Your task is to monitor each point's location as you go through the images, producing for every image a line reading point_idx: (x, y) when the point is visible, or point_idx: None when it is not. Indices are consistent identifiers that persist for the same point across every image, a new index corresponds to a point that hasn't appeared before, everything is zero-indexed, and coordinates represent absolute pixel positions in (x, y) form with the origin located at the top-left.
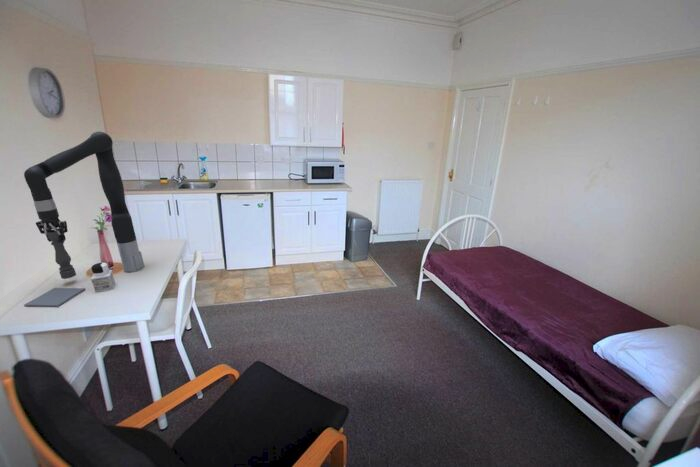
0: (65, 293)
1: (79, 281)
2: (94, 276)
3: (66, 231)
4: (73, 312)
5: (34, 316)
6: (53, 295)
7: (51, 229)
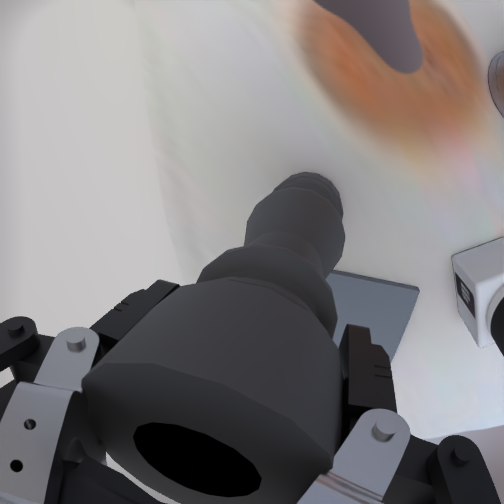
0: (360, 324)
1: (342, 185)
2: (490, 336)
3: (464, 467)
4: (428, 416)
5: None
6: None
7: (79, 392)
